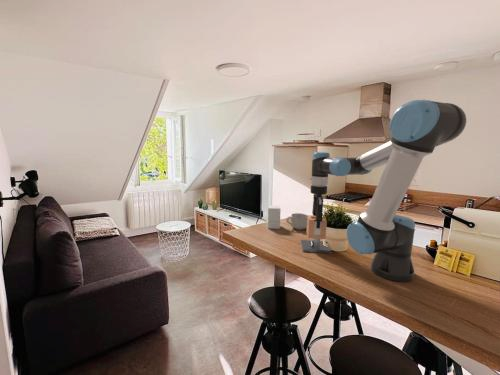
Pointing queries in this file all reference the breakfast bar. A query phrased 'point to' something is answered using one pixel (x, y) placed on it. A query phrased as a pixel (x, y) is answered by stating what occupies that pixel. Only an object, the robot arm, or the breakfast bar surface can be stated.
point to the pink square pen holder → (312, 227)
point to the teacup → (298, 221)
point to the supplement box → (274, 217)
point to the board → (314, 246)
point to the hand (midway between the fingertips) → (315, 231)
